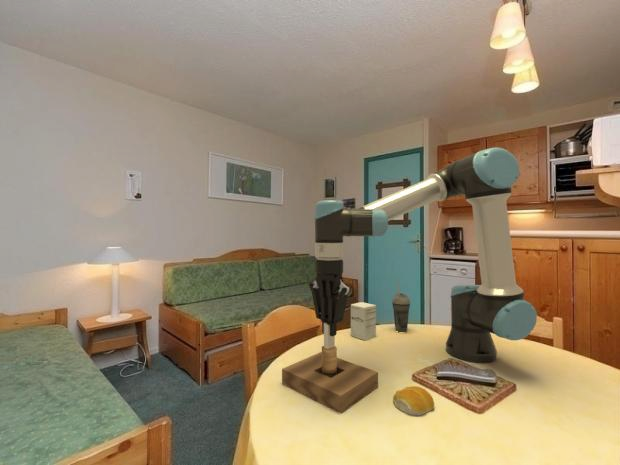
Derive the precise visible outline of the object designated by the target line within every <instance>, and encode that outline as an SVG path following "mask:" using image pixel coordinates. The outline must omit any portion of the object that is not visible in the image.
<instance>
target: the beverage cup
mask: <svg viewBox="0 0 620 465" xmlns="http://www.w3.org/2000/svg"><path fill="white" fill-rule="evenodd" d="M396 284H397V289H398V291H397V292H398V293H397V294H395V295H394V297H393V299H392V302H391V304H392V309H393V318H394V319H393V320H394V328H395V332H396V331H398V332H397V333H399V332H406V331H407V332H408V326H409V325H408V324H409V314H410V308H411V300H410V298H409V297H408V295H407V294H404V293H401V291H400V283H399V282H397V283H396ZM407 332H406V333H407Z"/></svg>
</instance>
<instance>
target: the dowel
mask: <svg viewBox="0 0 620 465" xmlns="http://www.w3.org/2000/svg"><path fill="white" fill-rule="evenodd" d="M337 348H338V347H337V346H334V347H332V348H330V349H326V348H324V345H322V346H321V352H322V369H321V371H322V374H323V375H325V376H327V377H330V378H332V377H334V376H336V375H337V358H338V357H337V355H338V354H337V353H338V352H337V350H338V349H337Z"/></svg>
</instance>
